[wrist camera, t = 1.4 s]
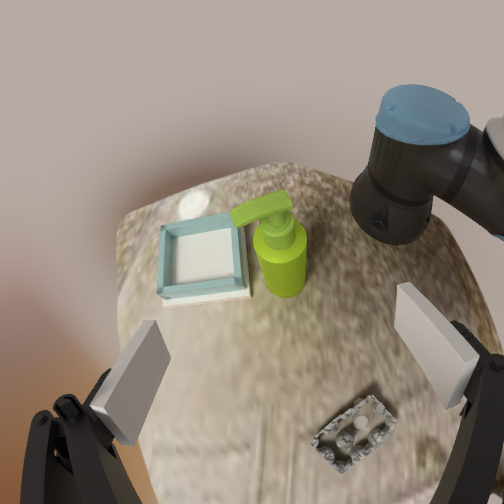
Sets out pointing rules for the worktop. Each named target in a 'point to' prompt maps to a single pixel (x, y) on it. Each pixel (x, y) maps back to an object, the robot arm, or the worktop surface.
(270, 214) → the soap dispenser
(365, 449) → the egg carton
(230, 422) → the worktop surface
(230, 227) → the cradle
